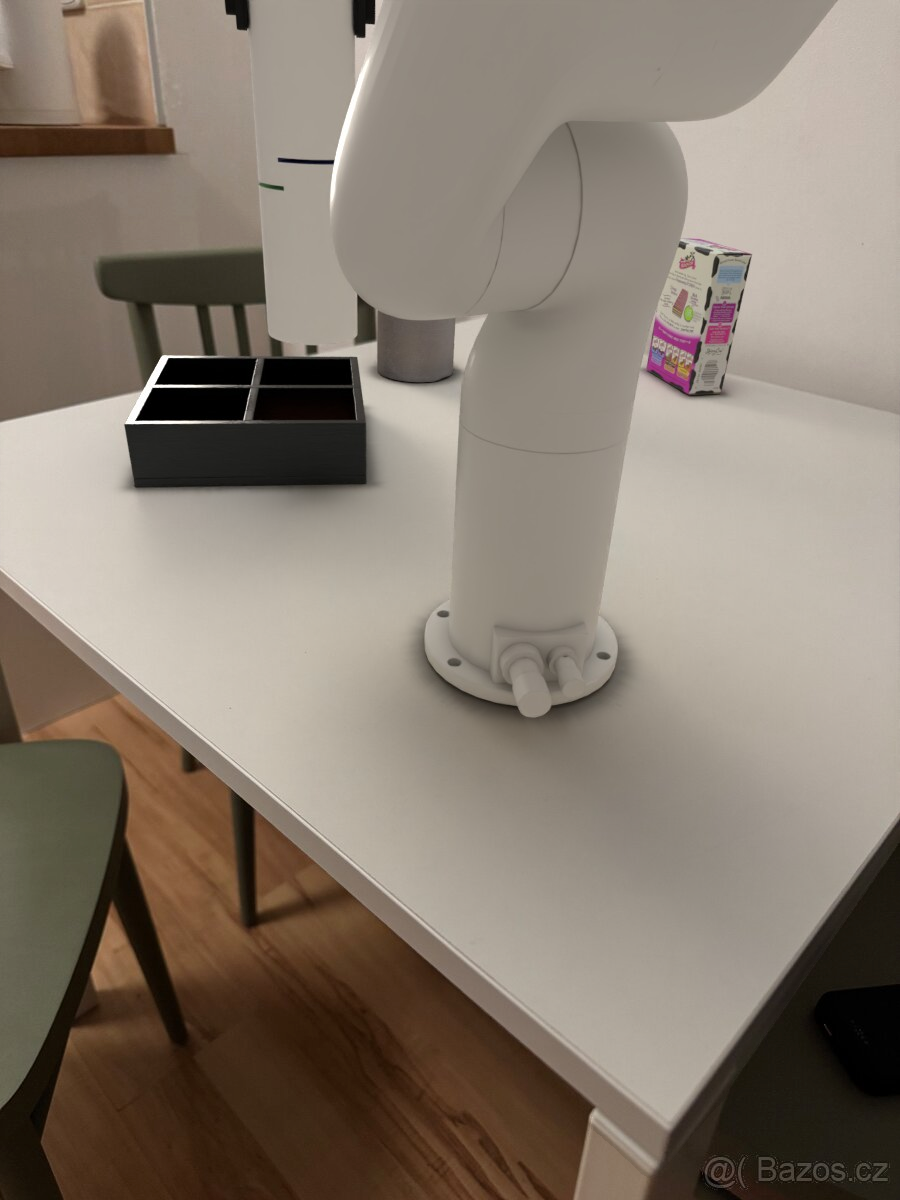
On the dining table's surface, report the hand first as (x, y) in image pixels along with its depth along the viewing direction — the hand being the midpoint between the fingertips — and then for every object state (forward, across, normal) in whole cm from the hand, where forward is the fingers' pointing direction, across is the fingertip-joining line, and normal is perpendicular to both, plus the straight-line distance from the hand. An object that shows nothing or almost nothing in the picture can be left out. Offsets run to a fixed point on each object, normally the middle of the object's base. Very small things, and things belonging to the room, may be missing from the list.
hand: (302, 31), depth 57 cm
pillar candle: (+35, +12, +35) cm, 51 cm away
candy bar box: (+34, +46, +31) cm, 65 cm away
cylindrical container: (+20, 0, 0) cm, 20 cm away
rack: (+34, -6, +11) cm, 37 cm away
